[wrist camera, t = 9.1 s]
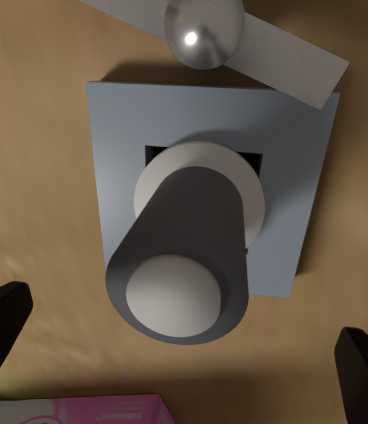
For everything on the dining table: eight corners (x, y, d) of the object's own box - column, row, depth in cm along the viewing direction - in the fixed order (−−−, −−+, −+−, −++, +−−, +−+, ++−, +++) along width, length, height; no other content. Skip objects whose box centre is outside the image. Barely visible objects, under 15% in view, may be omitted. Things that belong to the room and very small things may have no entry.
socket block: (329, 90, 13) (340, 93, 12) (284, 280, 18) (288, 298, 17) (99, 80, 15) (85, 81, 13) (115, 260, 20) (106, 275, 18)
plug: (268, 136, 15) (308, 212, 7) (253, 245, 17) (268, 389, 10) (144, 130, 16) (50, 192, 8) (148, 235, 18) (83, 360, 10)
